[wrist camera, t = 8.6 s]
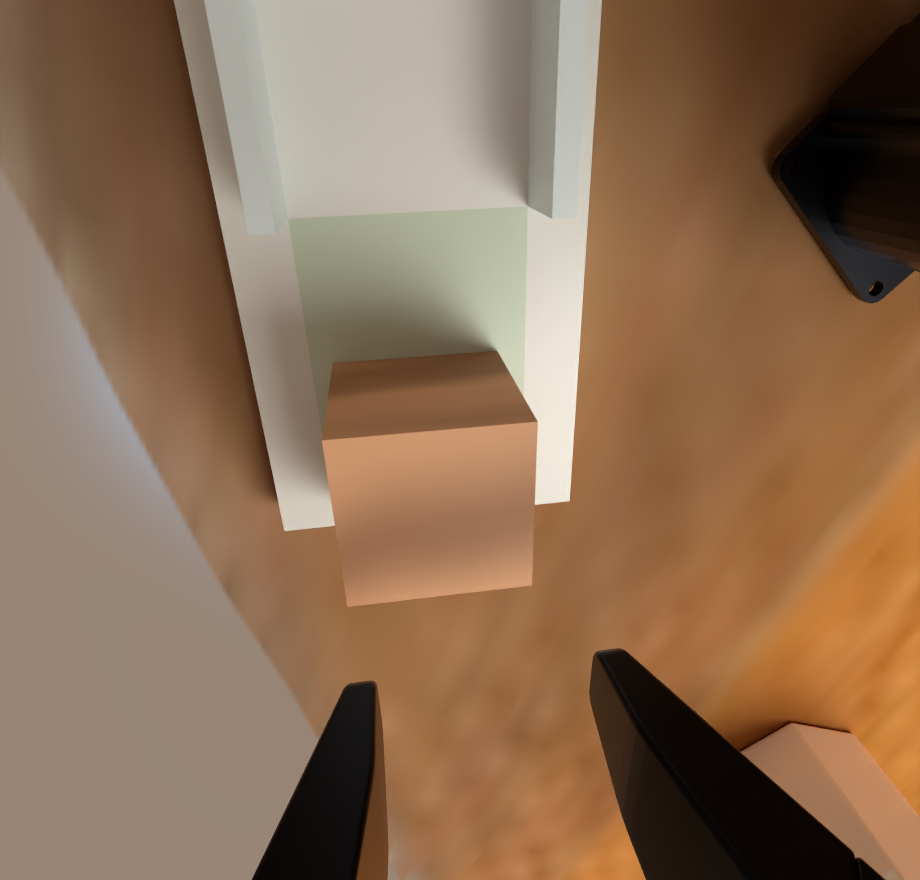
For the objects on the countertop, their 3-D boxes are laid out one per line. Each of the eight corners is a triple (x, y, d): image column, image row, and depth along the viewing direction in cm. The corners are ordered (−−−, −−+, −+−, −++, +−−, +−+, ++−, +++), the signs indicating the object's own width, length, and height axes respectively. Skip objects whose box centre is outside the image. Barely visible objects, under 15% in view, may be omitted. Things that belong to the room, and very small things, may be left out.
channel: (62, -635, 10) (-90, -1014, 7) (614, -585, 12) (721, -892, 8) (289, 506, 22) (274, 580, 18) (557, 479, 23) (592, 543, 19)
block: (332, 363, 18) (321, 440, 14) (497, 350, 18) (537, 421, 14) (351, 502, 20) (347, 606, 16) (496, 488, 21) (531, 585, 16)
